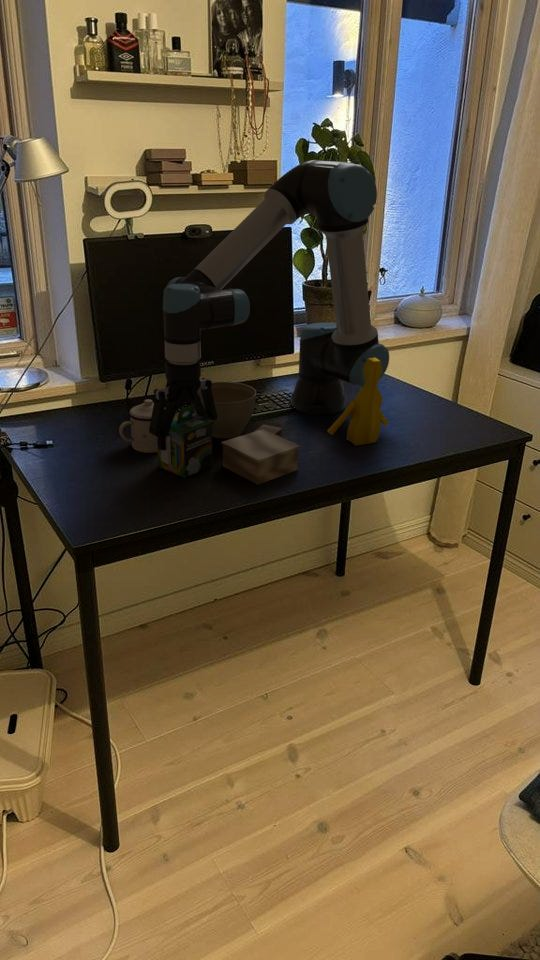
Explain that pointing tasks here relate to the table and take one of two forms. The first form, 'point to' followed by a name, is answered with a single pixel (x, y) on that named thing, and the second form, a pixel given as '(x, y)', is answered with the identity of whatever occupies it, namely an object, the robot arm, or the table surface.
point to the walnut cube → (271, 429)
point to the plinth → (260, 456)
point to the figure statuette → (364, 408)
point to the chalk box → (188, 443)
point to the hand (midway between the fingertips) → (184, 456)
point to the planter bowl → (231, 408)
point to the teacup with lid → (141, 428)
